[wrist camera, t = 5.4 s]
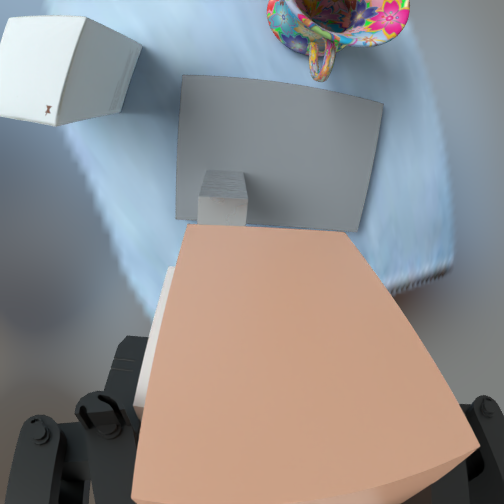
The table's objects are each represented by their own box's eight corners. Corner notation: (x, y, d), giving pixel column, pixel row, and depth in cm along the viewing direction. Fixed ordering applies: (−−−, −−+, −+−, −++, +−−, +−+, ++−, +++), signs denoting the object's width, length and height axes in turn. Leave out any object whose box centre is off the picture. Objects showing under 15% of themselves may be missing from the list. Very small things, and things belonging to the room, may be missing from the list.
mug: (271, -29, 19) (291, -80, 10) (361, -3, 21) (414, -33, 11) (247, 75, 25) (257, 62, 16) (341, 97, 26) (394, 101, 17)
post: (206, 169, 27) (198, 196, 20) (243, 171, 28) (248, 199, 21) (204, 203, 29) (196, 240, 22) (239, 205, 29) (243, 243, 22)
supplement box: (145, 44, 22) (91, 15, 11) (121, 114, 25) (55, 131, 14) (82, 34, 21) (8, 15, 10) (61, 101, 24) (-19, 116, 13)
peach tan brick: (187, 224, 11) (131, 498, 3) (344, 232, 12) (480, 445, 4) (191, 342, 14) (179, 539, 6) (315, 343, 15) (366, 522, 7)
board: (184, 76, 24) (182, 75, 23) (376, 103, 26) (383, 103, 25) (177, 213, 31) (175, 219, 30) (352, 226, 33) (357, 232, 32)
